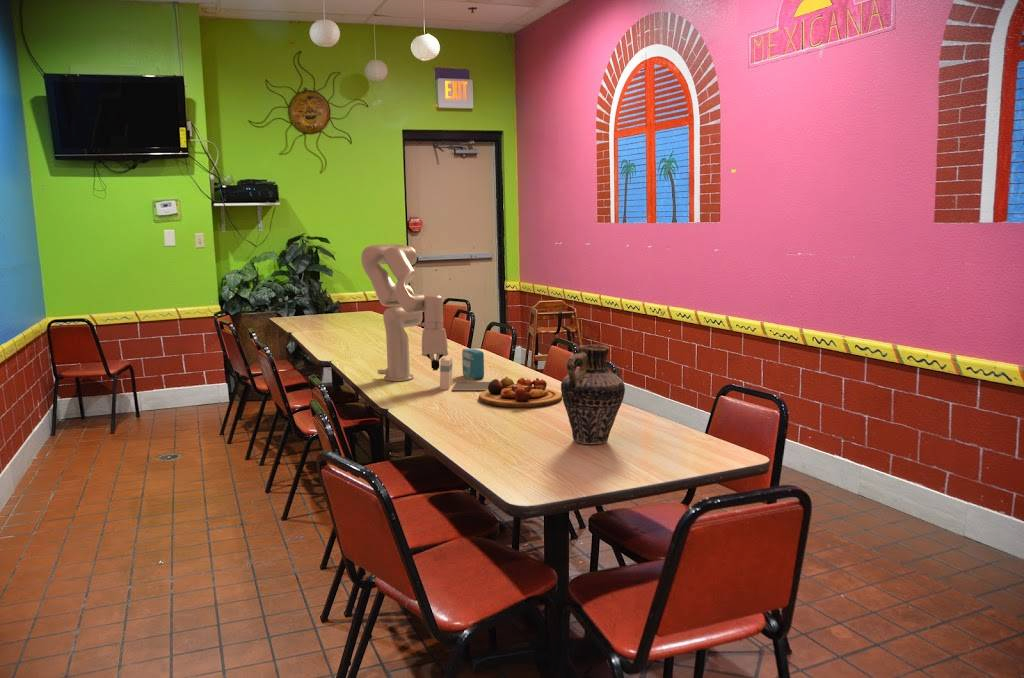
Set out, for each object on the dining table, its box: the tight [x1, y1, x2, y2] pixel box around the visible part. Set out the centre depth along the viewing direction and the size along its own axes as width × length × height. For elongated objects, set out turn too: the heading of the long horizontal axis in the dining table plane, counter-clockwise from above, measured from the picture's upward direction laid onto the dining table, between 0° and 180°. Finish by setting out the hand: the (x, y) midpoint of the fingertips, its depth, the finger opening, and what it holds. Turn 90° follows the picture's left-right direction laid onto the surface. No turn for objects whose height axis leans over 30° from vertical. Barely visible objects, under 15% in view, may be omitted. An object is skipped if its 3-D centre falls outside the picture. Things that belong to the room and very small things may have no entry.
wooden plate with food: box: [478, 376, 563, 409], centre depth 310 cm, size 32×32×8 cm
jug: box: [560, 344, 626, 446], centre depth 248 cm, size 21×19×30 cm
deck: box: [439, 355, 453, 390], centre depth 332 cm, size 4×9×12 cm, turn 176°
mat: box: [451, 381, 491, 392], centre depth 332 cm, size 19×16×1 cm
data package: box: [461, 347, 485, 380], centre depth 352 cm, size 12×4×12 cm, turn 30°
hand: (435, 369), depth 332 cm, fingers closed
